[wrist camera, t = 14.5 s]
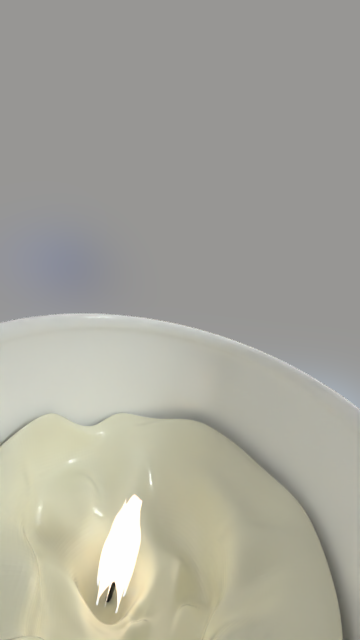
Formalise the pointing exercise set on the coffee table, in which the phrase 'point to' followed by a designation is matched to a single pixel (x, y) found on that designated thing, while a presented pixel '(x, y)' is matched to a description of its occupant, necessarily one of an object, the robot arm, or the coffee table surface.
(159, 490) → the candle holder
